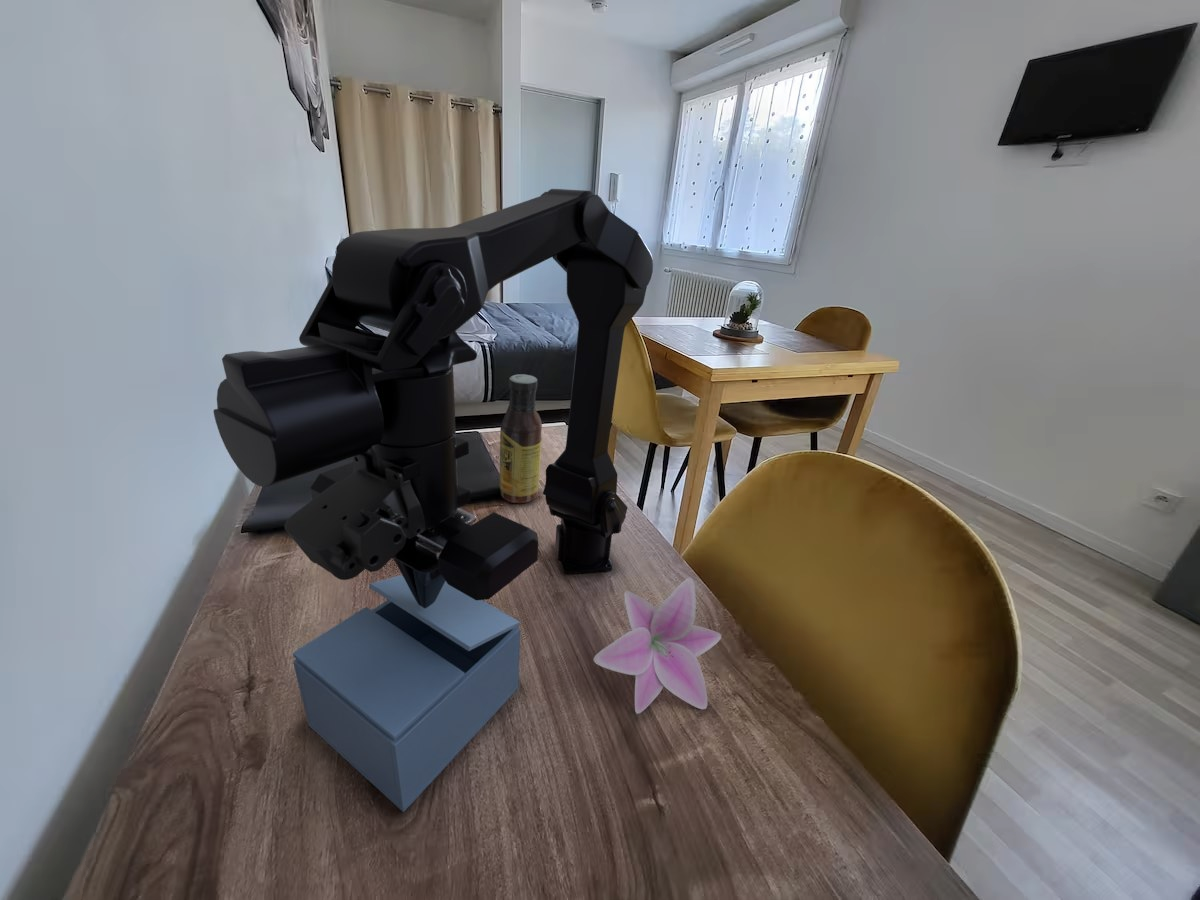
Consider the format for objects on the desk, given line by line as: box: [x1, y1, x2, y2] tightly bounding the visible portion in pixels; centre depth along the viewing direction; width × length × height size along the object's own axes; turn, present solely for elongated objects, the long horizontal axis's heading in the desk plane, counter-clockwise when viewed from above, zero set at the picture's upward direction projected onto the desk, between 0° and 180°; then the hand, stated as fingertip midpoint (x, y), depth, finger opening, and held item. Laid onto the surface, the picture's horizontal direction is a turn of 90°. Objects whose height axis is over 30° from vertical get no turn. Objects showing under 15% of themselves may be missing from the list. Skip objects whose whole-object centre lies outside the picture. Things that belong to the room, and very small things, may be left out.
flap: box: [368, 574, 521, 651], centre depth 42 cm, size 6×12×1 cm, turn 58°
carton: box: [292, 599, 521, 813], centre depth 42 cm, size 13×12×8 cm
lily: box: [593, 577, 722, 715], centre depth 47 cm, size 12×12×10 cm
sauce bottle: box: [499, 373, 543, 504], centre depth 74 cm, size 7×6×20 cm
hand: (426, 603), depth 40 cm, fingers closed
